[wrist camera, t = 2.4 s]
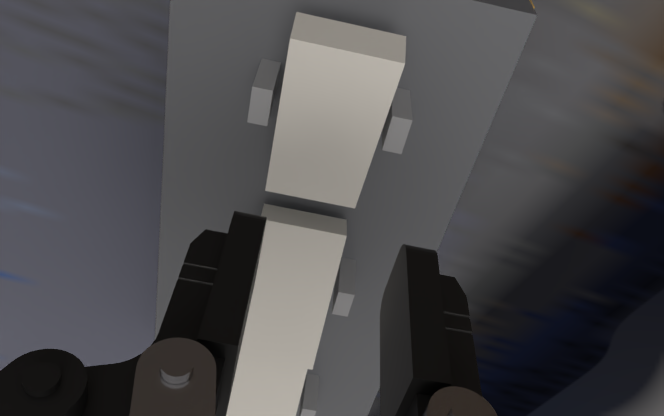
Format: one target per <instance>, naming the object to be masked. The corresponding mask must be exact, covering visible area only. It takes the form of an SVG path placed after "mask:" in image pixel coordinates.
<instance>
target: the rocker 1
mask: <svg viewBox="0 0 664 416" xmlns="http://www.w3.org/2000/svg"><path fill="white" fill-rule="evenodd" d="M307 370H308V369H305V368H299V367H294V366H288V365H282V364H276V363H271V362H265V361H259V360H254V359H248V358H242V357H239V359H238V363H237V368H236V372H235V377H234V382H233V386H232V391H231V396H230V400H229V405H228V409H227V414H226V416H296V413H297V409H298V405H299V401H300V397H301V393H302V389H303V385H304V381H305V377H306V373H307Z"/></svg>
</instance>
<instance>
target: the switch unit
mask: <svg viewBox="0 0 664 416" xmlns="http://www.w3.org/2000/svg"><path fill="white" fill-rule="evenodd" d="M534 8H535V7H534V5H533V3H532V1H531V0H170V13H169V35H168V57H167V79H166V102H165V124H164V146H163V168H162V191H161V213H160V235H159V257H158V280H157V302H156V324H155V339H156V337H157V335H158V333H159V330H160V327H161V324H162V321H163V319H164V316H165V313H166V310H167V307H168V305H169V302H170V299H171V296H172V293H173V291H174V288H175V285H176V282H177V280H178V277H179V274H180V271H181V268H182V265H183V263H184V260H185V257H186V254H187V251H188V248H189V246H190V243H191V242H192V241H193V240H194V239H196V238H197V237H198V236H199V235H200V234H201V233H202V232H203V231H204V230H205V229H207V230H212V231H218V232H223V233H228V230H229V227H230V223H231V220H232V217H233V213H234V211H238V212H244V213H249V214H254V215H259V216H261V214H262V210H263V206H264V204H269V205H274V206H279V207H284V208H289V209H295V210H300V211H305V212H310V213H315V214H320V215H325V216H330V217H335V218H340V219H345V220H347V237H346V241H345V245H344V249H343V253H342V257H341V261H340V265H339V269H338V272H337V276H336V280H335V284H334V288H333V292H332V296H331V300H330V303H329V307H328V311H327V315H326V319H325V323H324V327H323V331H322V335H321V338H320V342H319V346H318V350H317V354H316V358H315V362H314V366H313V369H312V370H311V369H308V370H307V373H306V377H305V381H304V385H303V389H302V393H301V397H300V401H299V405H298V409H297V413H296V416H368V413H369V411H370V409H371V406H372V404H373V402H374V399H375V397H376V394H377V392H378V390H379V387H380V309H381V302H382V298H383V294H384V290H385V288H386V285H387V282H388V280H389V277H390V274H391V272H392V269H393V266H394V263H395V261H396V258H397V255H398V253H399V250H400V248H401V246H402V245H403V244H406V245H411V246H416V247H421V248H426V249H431V250H435V251H436V252H437V251H438V248H439V246H440V244H441V241H442V239H443V237H444V234H445V232H446V230H447V227H448V225H449V222H450V220H451V218H452V215H453V213H454V211H455V208H456V206H457V204H458V201H459V199H460V197H461V194H462V192H463V189H464V187H465V185H466V182H467V180H468V178H469V175H470V173H471V171H472V168H473V166H474V164H475V161H476V159H477V156H478V154H479V152H480V149H481V147H482V145H483V142H484V140H485V138H486V135H487V133H488V131H489V128H490V126H491V123H492V121H493V119H494V116H495V114H496V112H497V109H498V107H499V105H500V102H501V100H502V98H503V95H504V93H505V90H506V88H507V86H508V83H509V81H510V79H511V76H512V74H513V72H514V69H515V67H516V65H517V62H518V60H519V57H520V55H521V53H522V50H523V48H524V46H525V43H526V41H527V39H528V36H529V34H530V32H531V29H532V27H533V24H534V22H535V20H536V17H537V13H536V12H535V10H534ZM296 12H300V13H304V14H309V15H313V16H318V17H322V18H327V19H331V20H336V21H340V22H345V23H349V24H354V25H358V26H362V27H367V28H371V29H376V30H380V31H385V32H389V33H394V34H398V35H403V36H406V56H405V66H404V69H403V72H402V74H401V77H400V80H399V83H398V86H397V89H396V92H395V95H394V97H393V100H392V103H391V106H390V109H389V112H388V115H387V118H386V121H385V123H384V126H383V129H382V132H381V135H380V138H379V141H378V144H377V146H376V149H375V152H374V155H373V158H372V161H371V164H370V167H369V170H368V172H367V175H366V178H365V181H364V184H363V187H362V190H361V193H360V195H359V198H358V201H357V204H356V207H355V208H350V207H345V206H340V205H335V204H330V203H325V202H319V201H314V200H309V199H304V198H299V197H294V196H289V195H284V194H279V193H274V192H269V191H265V188H266V182H267V176H268V170H269V164H270V158H271V152H272V146H273V139H274V133H275V127H276V121H277V115H278V109H279V103H280V97H281V91H282V84H283V78H284V72H285V66H286V60H287V54H288V48H289V42H290V36H291V32H292V28H293V24H294V20H295V16H296Z"/></svg>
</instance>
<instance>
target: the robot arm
mask: <svg viewBox="0 0 664 416" xmlns="http://www.w3.org/2000/svg"><path fill="white" fill-rule="evenodd" d="M266 220H267V217H264V216H259V215H254V214H249V213H244V212H238V211H234V213H233V217H232V220H231V223H230V227H229V230H228V233H223V232H218V231H212V230H207V229H205V230H204V231H203V232H202V233H201V234H200V235H199V236H198V237H197V238H196V239H194V240H193V241H192V242H191V243H190V246H189V248H188V251H187V254H186V257H185V260H184V263H183V265H182V268H181V271H180V274H179V277H178V280H177V282H176V285H175V288H174V291H173V293H172V296H171V299H170V302H169V305H168V307H167V310H166V313H165V316H164V319H163V321H162V324H161V327H160V330H159V333H158V335H157V337H156V339H155V341H154V342H153V344H152V345H151V346H150V347H148V348H147V349H146V350H145V351H144V352H143V353H142V354H140V355H138V356H137V357H135V358H133V359H130V360H128V361H124V362H121V363H115V364H108V365H98V366H89V367H84V365H83V363H82V362H81V361H80V360H79V359H78V358H77V357H76V356H74V355H73V354H71V353H69V352H66V351H63V350H57V349H42V350H36V351H32V352H29V353H27V354H24V355H22V356H20V357H18V358H17V359H15V360H14V361H12V362H11V363H10V364H8V365H7V366H6V367H5V368H4V369H2V370H1V371H0V416H226V414H227V409H228V405H229V400H230V396H231V391H232V386H233V382H234V377H235V372H236V368H237V363H238V359H239V354H240V349H241V345H242V340H243V335H244V331H245V326H246V322H247V317H248V312H249V308H250V303H251V298H252V294H253V289H254V284H255V279H256V274H257V269H258V264H259V258H260V253H261V247H262V242H263V236H264V231H265V226H266ZM471 332H472V329H471V322H470V319H469V310H468V303H467V297H466V295H465V293H464V292H463V290H462V288H461V287H460V285H459V283H458V282H457V280H456V279H455V277H450V276H445V275H440V274H439V265H438V256H437V252H436V251H435V250H431V249H426V248H421V247H416V246H411V245H406V244H403V245H402V246H401V248H400V250H399V253H398V255H397V258H396V261H395V263H394V266H393V269H392V272H391V274H390V277H389V280H388V282H387V285H386V288H385V290H384V294H383V298H382V302H381V309H380V416H497V414H496V412H495V411H494V409H493V408H492V406H491V405H490V404H489V403H488V402H487V401H486V400H485V399H484V398H483V397H482V393H481V387H480V380H479V374H478V368H477V361H476V355H475V348H474V342H473V335H471Z"/></svg>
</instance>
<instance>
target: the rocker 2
mask: <svg viewBox="0 0 664 416" xmlns="http://www.w3.org/2000/svg"><path fill="white" fill-rule="evenodd" d="M405 56H406V36H403V35H398V34H394V33H389V32H385V31H380V30H376V29H371V28H367V27H362V26H358V25H354V24H349V23H345V22H340V21H336V20H331V19H327V18H322V17H318V16H313V15H309V14H304V13H300V12H296V16H295V20H294V24H293V28H292V32H291V36H290V42H289V48H288V54H287V60H286V66H285V72H284V78H283V84H282V91H281V97H280V103H279V109H278V115H277V121H276V127H275V133H274V139H273V146H272V152H271V158H270V164H269V170H268V176H267V182H266V188H265V191H269V192H274V193H279V194H284V195H289V196H294V197H299V198H304V199H309V200H314V201H319V202H325V203H330V204H335V205H340V206H345V207H350V208H355V207H356V204H357V201H358V198H359V195H360V193H361V190H362V187H363V184H364V181H365V178H366V175H367V172H368V170H369V167H370V164H371V161H372V158H373V155H374V152H375V149H376V146H377V144H378V141H379V138H380V135H381V132H382V129H383V126H384V123H385V121H386V118H387V115H388V112H389V109H390V106H391V103H392V100H393V97H394V95H395V92H396V89H397V86H398V83H399V80H400V77H401V74H402V72H403V69H404V66H405Z"/></svg>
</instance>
